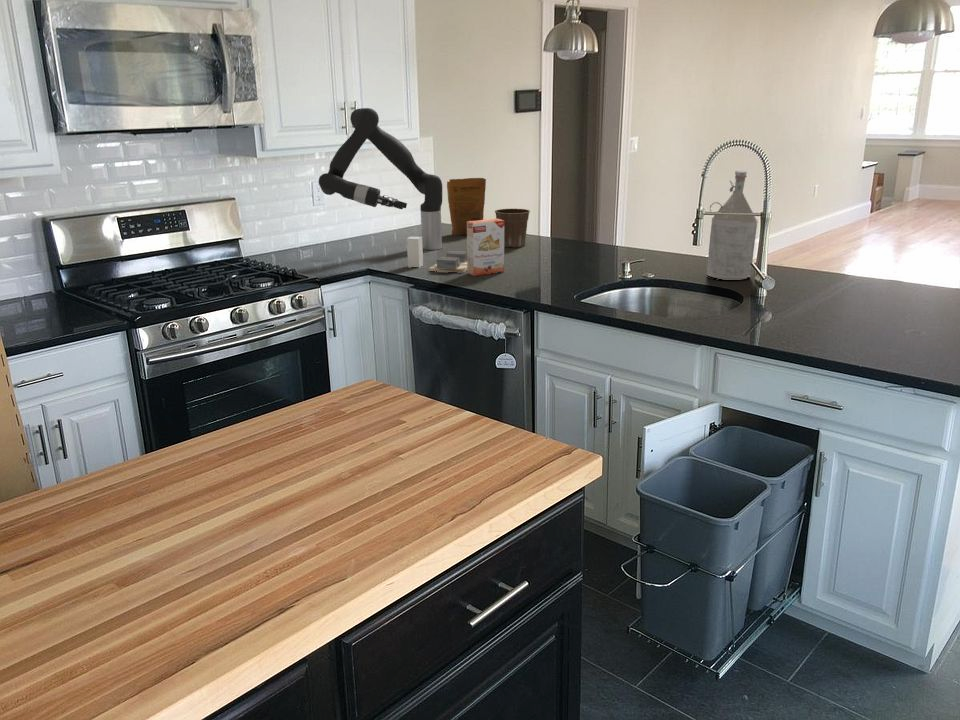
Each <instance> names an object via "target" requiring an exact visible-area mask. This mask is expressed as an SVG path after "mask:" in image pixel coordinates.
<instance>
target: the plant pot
mask: <svg viewBox="0 0 960 720" xmlns="http://www.w3.org/2000/svg"><path fill="white" fill-rule="evenodd" d="M494 213H495V219H501V220H504V248H510V247H511V248H514V249H515V248H522V247H525V246H526V240H527V231H528V222H529V221H528V220H529V216H530V213H531V210H530V209H526V208H501V209H500V208H499V209H495V210H494Z"/></svg>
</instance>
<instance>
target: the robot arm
mask: <svg viewBox="0 0 960 720" xmlns="http://www.w3.org/2000/svg"><path fill="white" fill-rule="evenodd" d="M379 118H380V117H379V115H378V112H377V111H376V110H375V109H373V108H369V107H365V108H364V107H363V108H362V107H361V108H357V109H354V110H353V111H351V114H350V123H351V125H352V127H353V128H354V131H353V132H352V133H351V134H350V136H349V137H348V138H347V140H345V142H344V143H343V144H342V145H340V147H339V148H338V149H337V151H336V152H335V154H334V156H333V158H332V160H331V161H330V163H329V169H328V172H325V173H323V174H321V175H320V176H319V178H318V185H319V187H320V189H321V191H322V192H323V194H325V195H328V196H332V195H334V194H339V195H340V196H341V197H343V198H344V199H348V200H351V201H354V202H357V203H359V204H363V205H366V206H369V207H373V208H376V207H377V205H380V206H384V207H386V208H394V209H399V210H403V209H406V208H407V205H408V203H407V202H405V201H404V202H403V201H401V200H398V198H394V197H392V196H388V195H385V194H384V195H381V190H380V189H379V188H376V187H373V186H370V185H366V184H360V183H358V182H357V183H356V182H354V181H350V180H349V181H348V180H347V179H345V178H344V176H345V174H346V172H347V171H348V168H349V167H350V165H351V163H352V162H353V159H354V158H355V156H356V155H357V153H358V152H359V150H360V149H361V148H362V146H363V145H364V143H365V142H366V141H367V140H368V141H369V142H371V144H372V145H374V146H375V147H376V149H377V150H378V151H379V152H380V153H381V154H383V155H384V157H385V158H386V159H387V160H388V161H389V162H390V163H391V164H392V165H393V166H394V167H396V168H397V170H399V171H400V172H401V173H402V174H403V175H404V176H406V178H407V179H408V180H409V182H410V183H412V185H413V186H414V187H415V189H416V190H417V191H418V192H419V194H422V195H424V201H423V203H420V205H419V207H420V226H421V229H420V230H421V232H420V233H421V237H422V249H423V250H427V251H428V250H432V251H433V250H440V249H441V250H442V248H443V237H442V236H443V235H442V234H443V233H442V230H443V229H442V212H441V211H442V204H443V182H442V179H441V177H439V176H438V175H435V174H431V173H427V172H426V171H424V169H422V168H421V167H420V166H418V164H417V162H416V161H415V158H414V155H413V154H412V152H411V151H410V150H409V149H408V148H407V147H406V146H405V144H404V143H402V142H401V141H400V140H399V139H398V138H397V137H395V136H393V135H392V134H389V133H388V132H386V131H385V130H384V129H382V128H381V127H380V126H379V125H378V124H379V123H380V122H379V121H380V119H379Z"/></svg>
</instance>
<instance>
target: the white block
mask: <svg viewBox="0 0 960 720" xmlns="http://www.w3.org/2000/svg"><path fill="white" fill-rule="evenodd" d="M423 250H424V249H423V248H422V236H408V237H407V238H406V251H407V253H406V254H407V268H411V267H418V268H417V269H419V268H422V267H423V266H424V253H423ZM421 266H422V267H421Z"/></svg>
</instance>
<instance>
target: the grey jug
mask: <svg viewBox="0 0 960 720" xmlns="http://www.w3.org/2000/svg"><path fill="white" fill-rule="evenodd" d="M734 171H735V172H734V174H735V177H734V178H735V182H734V183H733V182H732V181H731V180H729V182H730V185H731V187H730V188H729V192H730V193H732V194H731V196H729V198H728V199H727V200H726V201H725V202H724V204H723V205H722V204H721V202H718V201H714V202H712V203H711V204H710V205H709V212H710V213H712V209H711V208H712V207H713V205H714V204H718V205H720V207H719V209H718V211H717V212H721V213H753V214H754V212H753V210H752V208H751V206H750V205H749V202H748V201H747V199H746V197H745V194H744V193H743V192H744V187H745V182H746V178H747V174H748V172H747V171H746V170H743V169H737V170H734ZM710 227H711V228H710V235H709V243H708V244H709V246H708V258H707V270H706V276H707V275H708V276H712V277H718V278H745V277H750V276H751V275H752V267H753V265H752V266H751V264H750V263H751V262H752V263H753V259H754V251H755V244H756V235H757V227H758V220H757V218H756V216H755V215H754V216H745V215H713V217H712V218H711V226H710ZM708 276H707V277H708ZM751 277H752V276H751Z"/></svg>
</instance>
